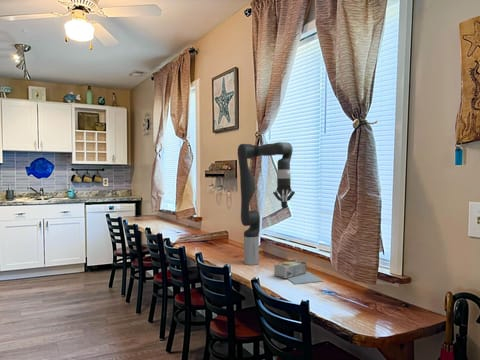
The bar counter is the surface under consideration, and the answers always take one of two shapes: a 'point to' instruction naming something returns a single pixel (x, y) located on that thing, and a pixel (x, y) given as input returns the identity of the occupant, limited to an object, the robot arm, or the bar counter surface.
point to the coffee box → (290, 268)
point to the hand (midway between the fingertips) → (284, 208)
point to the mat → (304, 278)
